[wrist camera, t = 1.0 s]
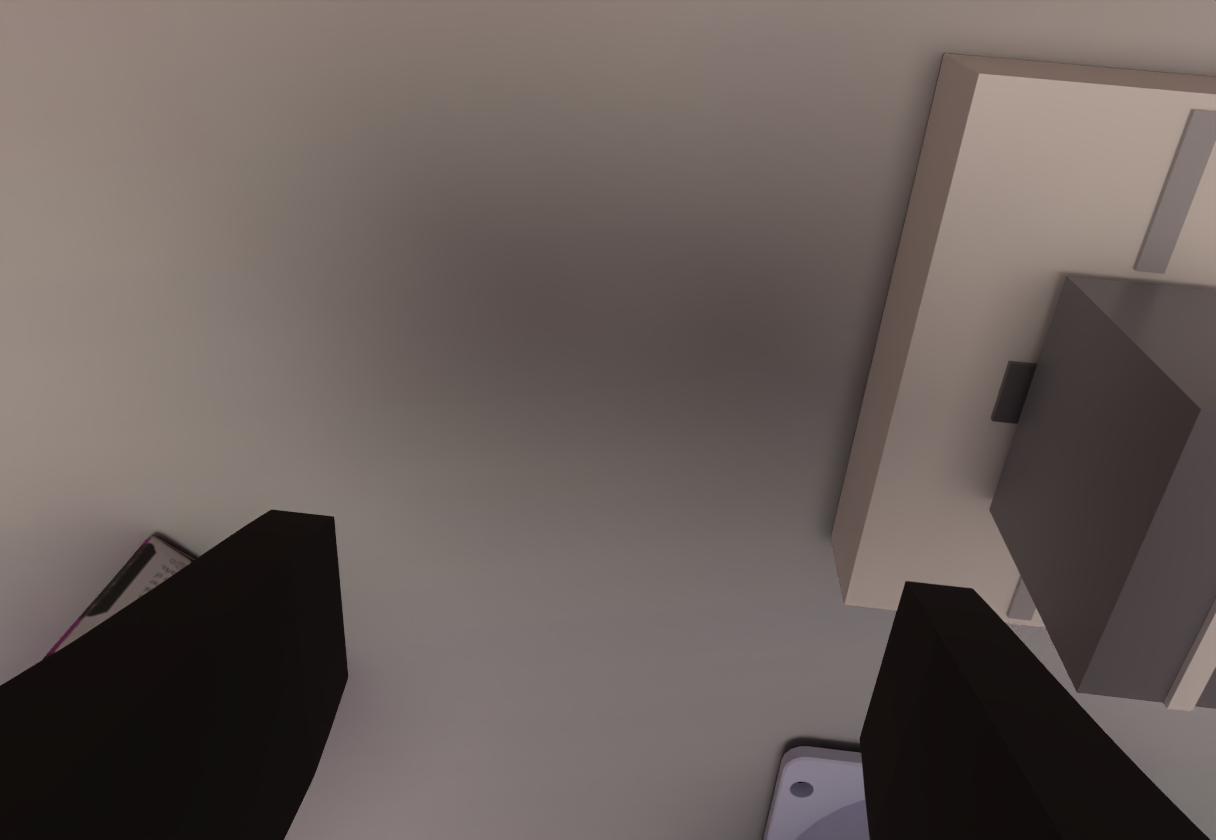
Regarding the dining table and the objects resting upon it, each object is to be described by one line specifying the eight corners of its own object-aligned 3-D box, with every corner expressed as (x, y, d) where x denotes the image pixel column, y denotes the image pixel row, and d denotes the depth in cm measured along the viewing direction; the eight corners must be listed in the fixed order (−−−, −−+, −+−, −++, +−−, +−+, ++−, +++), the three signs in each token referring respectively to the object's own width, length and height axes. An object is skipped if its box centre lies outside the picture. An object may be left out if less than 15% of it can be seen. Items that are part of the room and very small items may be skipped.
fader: (1140, 526, 15) (1279, 721, 11) (989, 510, 15) (1079, 698, 11) (1241, 293, 13) (1449, 438, 9) (1066, 275, 13) (1206, 413, 9)
